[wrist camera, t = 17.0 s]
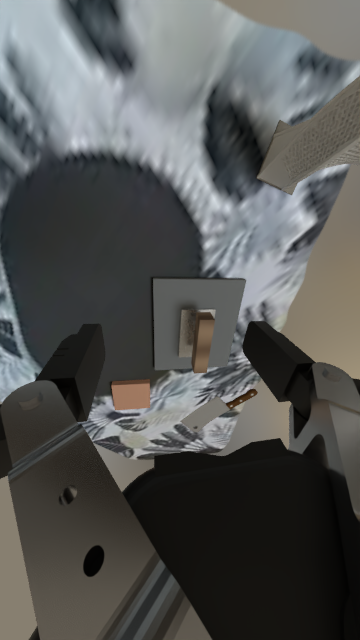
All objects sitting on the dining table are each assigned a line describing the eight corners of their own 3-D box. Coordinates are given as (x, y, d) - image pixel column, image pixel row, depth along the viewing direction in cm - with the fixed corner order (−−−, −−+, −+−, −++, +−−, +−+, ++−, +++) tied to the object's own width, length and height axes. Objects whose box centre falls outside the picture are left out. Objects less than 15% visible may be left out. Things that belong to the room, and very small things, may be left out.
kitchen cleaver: (246, 378, 50) (261, 397, 54) (244, 375, 51) (259, 395, 55) (175, 419, 55) (193, 434, 59) (174, 415, 56) (193, 431, 60)
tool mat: (154, 367, 45) (154, 370, 44) (153, 277, 34) (153, 278, 33) (225, 363, 47) (227, 366, 46) (243, 278, 37) (246, 280, 36)
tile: (112, 379, 45) (116, 404, 50) (111, 385, 44) (115, 410, 48) (149, 377, 47) (150, 401, 51) (149, 383, 45) (150, 407, 49)
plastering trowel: (181, 304, 36) (187, 320, 31) (215, 303, 37) (227, 319, 32) (178, 355, 43) (182, 377, 37) (207, 354, 44) (216, 375, 38)
